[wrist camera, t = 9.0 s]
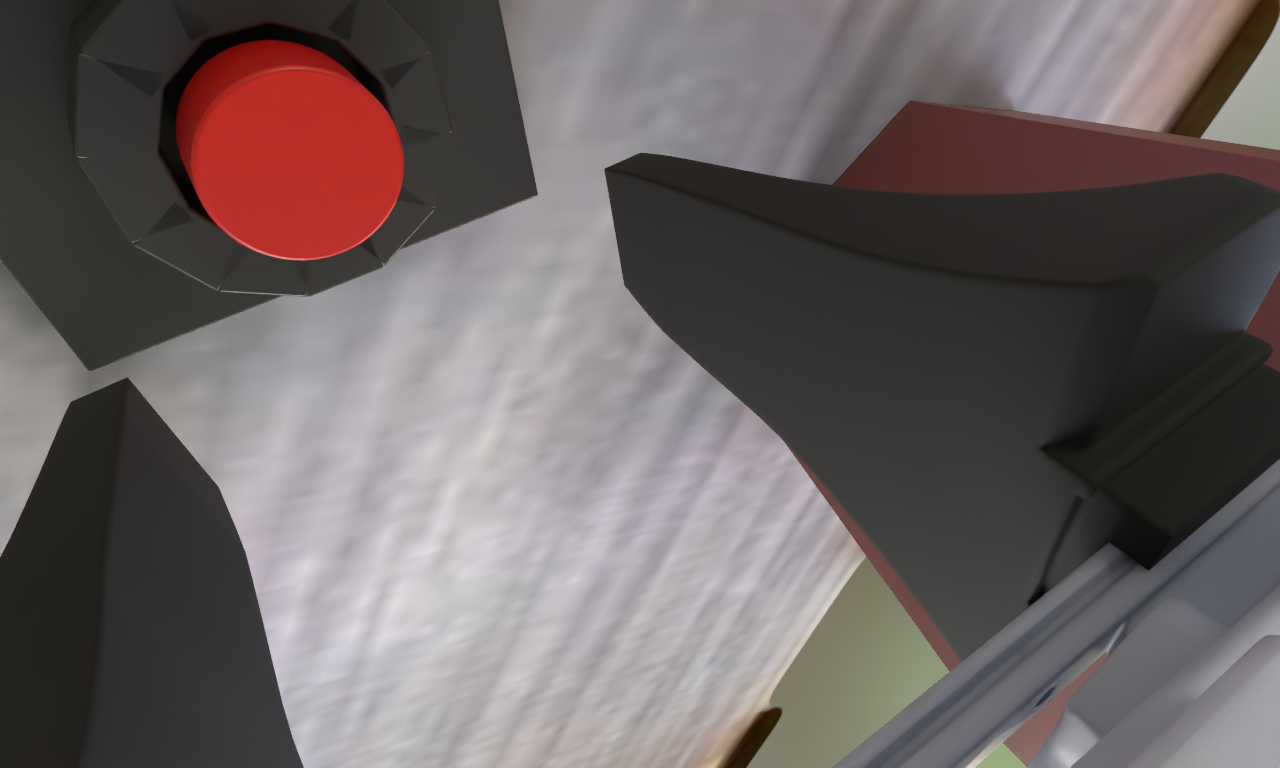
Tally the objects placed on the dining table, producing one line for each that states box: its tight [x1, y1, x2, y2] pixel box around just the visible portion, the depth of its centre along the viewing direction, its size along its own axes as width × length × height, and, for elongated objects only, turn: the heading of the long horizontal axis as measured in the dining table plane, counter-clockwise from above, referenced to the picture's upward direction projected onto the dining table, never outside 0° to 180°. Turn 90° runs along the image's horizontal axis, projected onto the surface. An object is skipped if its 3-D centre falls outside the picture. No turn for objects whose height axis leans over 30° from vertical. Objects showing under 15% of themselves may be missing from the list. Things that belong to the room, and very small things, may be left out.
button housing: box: [0, 0, 538, 371], centre depth 16 cm, size 11×8×4 cm
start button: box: [176, 40, 404, 260], centre depth 14 cm, size 4×4×2 cm
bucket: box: [786, 101, 1280, 766], centre depth 28 cm, size 24×22×25 cm
